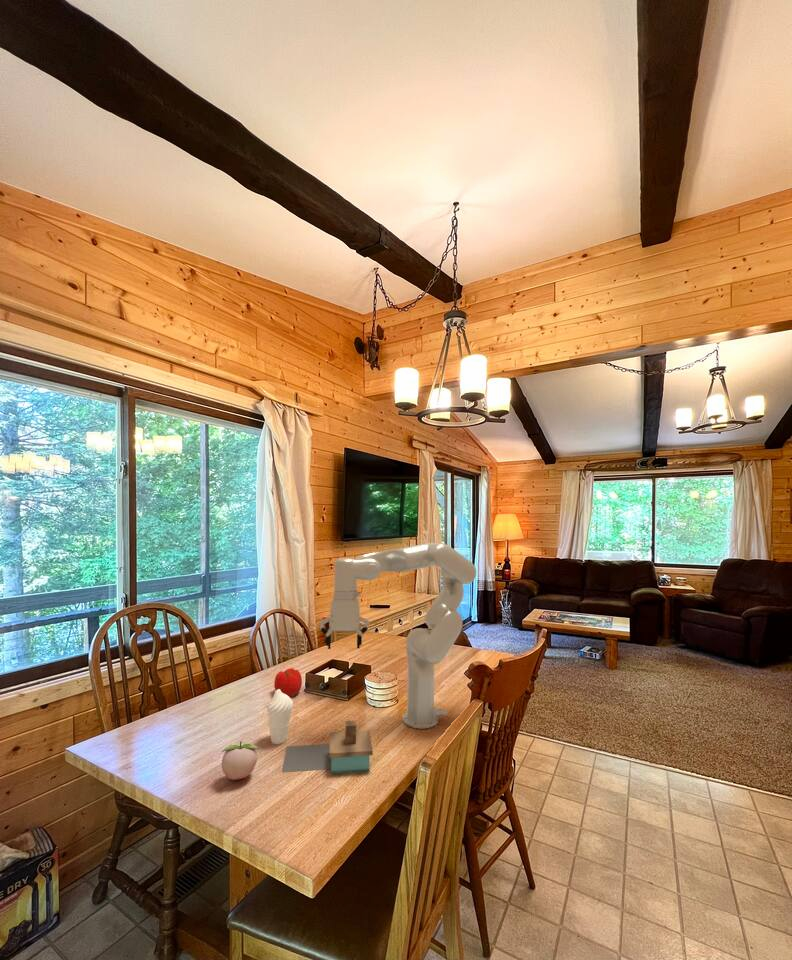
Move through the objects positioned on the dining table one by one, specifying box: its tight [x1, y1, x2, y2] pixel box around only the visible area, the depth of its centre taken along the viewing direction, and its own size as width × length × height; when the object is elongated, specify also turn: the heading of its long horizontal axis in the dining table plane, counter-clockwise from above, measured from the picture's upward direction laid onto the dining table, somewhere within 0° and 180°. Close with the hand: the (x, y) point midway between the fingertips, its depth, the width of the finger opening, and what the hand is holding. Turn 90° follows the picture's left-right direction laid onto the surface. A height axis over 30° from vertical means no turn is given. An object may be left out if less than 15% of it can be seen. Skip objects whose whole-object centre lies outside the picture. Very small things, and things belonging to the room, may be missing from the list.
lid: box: [329, 720, 374, 758], centre depth 127 cm, size 12×12×6 cm
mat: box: [281, 743, 331, 773], centre depth 129 cm, size 14×14×1 cm
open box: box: [330, 756, 370, 775], centre depth 127 cm, size 11×11×5 cm
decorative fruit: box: [221, 741, 259, 781], centre depth 118 cm, size 9×8×10 cm
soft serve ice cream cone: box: [266, 689, 294, 745], centre depth 139 cm, size 8×8×16 cm
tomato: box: [273, 667, 303, 697], centre depth 176 cm, size 11×12×9 cm
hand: (343, 647), depth 145 cm, fingers open, 9 cm apart
